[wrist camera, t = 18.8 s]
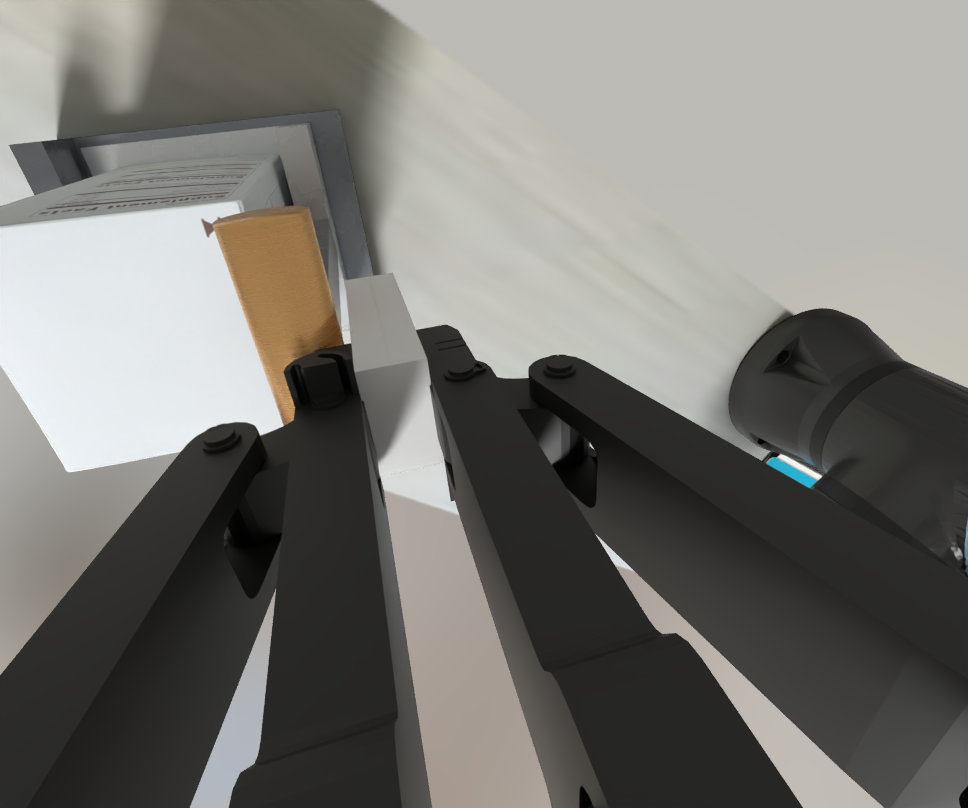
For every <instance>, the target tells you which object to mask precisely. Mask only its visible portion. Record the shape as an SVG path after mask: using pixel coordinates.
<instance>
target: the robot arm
mask: <svg viewBox="0 0 968 808" xmlns="http://www.w3.org/2000/svg"><path fill="white" fill-rule="evenodd" d="M345 287H346V297H347V306H348V316H349V326H350V335H351V344H345V345H340V346H334V347H329V348H323V349H318V350H316V351H315V352H314V353H312V354H309V355H305V356H303V357H301V358H298V359H296V360H294V361H293V362H291V363H290V364H289V365H287V366H286V368H285V370H284V371H283V373H284V376H285V379H286V382H287V385H288V388H289V391H290V394H291V397H292V400H293V403H294V406H295V412H294V420H293V421H291V422H290V423H288V424H286V425H285V426H283V427H280V428H278V429H276V430H274V431H271V432H268V433H266V434H263V435H260V434H259V432H258V430H257V428H256V426H255V425H252V424H250V423H247V422H233V423H227V424H226V423H224V424H220V425H216V427H215V426H213V427H211V428H209V429H207V430H206V431H204V432H203V433H201V434H199V435H197V436H196V437H195V438H193V439H192V440H191V441H190V442H189V443H188V444H187V445H186V446H185V447H184V449H183V450H182V451H181V452H180V454H179V455H178V456H177V457H176V459H175V460H174V461H173V463H172V464H171V465H170V466H169V467H168V469H167V470H166V471H165V472H164V474H163V475H162V476H161V477H160V478H159V480H158V481H157V482H156V483H155V485H154V486H153V487H152V488H151V490H150V491H149V492H148V493H147V495H146V496H145V497H144V498H143V499H142V501H141V502H140V503H139V505H138V506H137V507H136V508H135V509H134V511H133V512H132V513H131V514H130V516H129V517H128V518H127V519H126V520H125V522H124V523H123V524H122V525H121V527H120V528H119V529H118V530H117V532H116V533H115V534H114V536H113V537H112V538H111V539H110V540H109V542H108V543H107V544H106V545H105V547H104V548H103V549H102V550H101V551H100V553H99V554H98V555H97V556H96V558H95V559H94V560H93V561H92V563H91V564H90V565H89V566H88V568H87V569H86V570H85V571H84V572H83V574H82V575H81V576H80V578H79V579H78V580H77V581H76V582H75V584H74V585H73V586H72V587H71V589H70V590H69V591H68V592H67V594H66V595H65V596H64V597H63V598H62V600H61V601H60V602H59V603H58V605H57V606H56V607H55V608H54V610H53V611H52V612H51V613H50V615H49V616H48V617H47V618H46V619H45V621H44V622H43V623H42V625H41V626H40V627H39V628H38V629H37V631H36V632H35V633H34V634H33V636H32V637H31V638H30V639H29V641H28V642H27V643H26V644H25V645H24V647H23V648H22V649H21V651H20V652H19V653H18V654H17V655H16V657H15V658H14V659H13V660H12V662H11V663H10V664H9V665H8V667H7V668H6V669H5V670H4V671H3V673H2V674H1V675H0V808H190V805H191V803H192V800H193V797H194V795H195V793H196V790H197V787H198V785H199V782H200V780H201V777H202V774H203V772H204V770H205V767H206V765H207V762H208V759H209V757H210V754H211V752H212V749H213V747H214V744H215V742H216V739H217V736H218V734H219V731H220V729H221V726H222V723H223V721H224V719H225V716H226V714H227V711H228V709H229V706H230V704H231V701H232V698H233V696H234V693H235V690H236V688H237V686H238V683H239V681H240V678H241V676H242V673H243V670H244V668H245V665H246V663H247V660H248V658H249V655H250V653H251V650H252V647H253V645H254V642H255V640H256V637H257V635H258V632H259V629H260V627H261V625H262V622H263V620H264V617H265V614H266V612H267V609H268V607H269V604H270V602H271V599H272V597H273V594H274V592H275V589H276V597H275V606H274V616H273V626H272V636H271V646H270V655H269V665H268V675H267V685H266V694H265V705H264V714H263V723H262V734H261V743H260V748H259V753H258V757H257V759H256V761H255V764H254V765H252V766H250V767H249V768H247V769H246V770H244V771H243V772H241V773H240V775H239V777H238V779H237V782H236V784H235V786H234V788H233V791H232V796H231V800H230V805H229V808H432V805H431V798H430V791H429V785H428V779H427V772H426V765H425V759H424V752H423V746H422V739H421V733H420V726H419V719H418V713H417V706H416V699H415V693H414V687H413V680H412V673H411V667H410V660H409V653H408V647H407V640H406V634H405V627H404V621H403V614H402V608H401V602H400V594H399V588H398V581H397V575H396V568H395V562H394V555H393V548H392V542H391V535H390V529H389V522H388V516H387V509H386V502H385V497H384V490H383V486H382V482H381V477H385V476H389V475H394V474H398V473H402V472H407V471H411V470H415V469H420V468H424V467H428V466H432V465H437V464H441V463H444V461H445V467H446V473H447V480H448V486H449V492H450V498H451V501H454V500H455V502H456V505H457V509H458V512H459V515H460V518H461V521H462V524H463V527H464V530H465V533H466V536H467V539H468V543H469V546H470V549H471V552H472V555H473V558H474V561H475V564H476V567H477V571H478V573H479V576H480V580H481V583H482V586H483V589H484V592H485V595H486V598H487V602H488V605H489V608H490V611H491V614H492V617H493V620H494V623H495V626H496V629H497V632H498V635H499V639H500V642H501V645H502V648H503V651H504V654H505V657H506V660H507V664H508V667H509V670H510V673H511V676H512V679H513V682H514V685H515V688H516V692H517V694H518V698H519V701H520V704H521V707H522V710H523V713H524V716H525V719H526V722H527V726H528V729H529V732H530V735H531V738H532V741H533V744H534V747H535V750H536V754H537V756H538V760H539V763H540V766H541V769H542V772H543V775H544V779H545V782H546V785H547V789H548V793H549V797H550V801H551V806H552V808H803V807H802V806H801V804H800V803H799V801H798V800H797V798H796V797H795V795H794V794H793V792H792V791H791V789H790V788H789V786H788V785H787V783H786V782H785V780H784V779H783V778H782V776H781V775H780V773H779V772H778V770H777V769H776V767H775V766H774V764H773V763H772V761H771V760H770V758H769V757H768V756H767V754H766V753H765V751H764V750H763V748H762V747H761V745H760V744H759V742H758V741H757V739H756V738H755V736H754V735H753V733H752V732H751V730H750V729H749V727H748V726H747V725H746V723H745V722H744V720H743V719H742V717H741V716H740V714H739V713H738V711H737V710H736V708H735V707H734V705H733V704H732V702H731V701H730V699H729V698H728V696H727V695H726V694H725V692H724V691H723V689H722V688H721V686H720V685H719V683H718V682H717V680H716V679H715V677H714V676H713V675H712V673H711V671H710V670H709V669H708V667H707V666H706V664H705V663H704V661H703V660H702V658H701V657H700V656H699V655H698V653H697V652H696V651H695V650H694V648H693V647H692V646H691V645H690V644H689V642H688V641H686V640H685V639H683V638H682V637H681V636H679V635H678V634H676V633H674V634H661V633H660V632H659V631H657V630H656V629H655V627H654V626H653V625H652V624H651V622H650V621H649V619H648V618H647V616H646V615H645V613H644V611H643V610H642V608H641V607H640V605H639V603H638V602H637V600H636V599H635V597H634V595H633V594H632V592H631V591H630V589H629V587H628V586H627V584H626V583H625V581H624V579H623V578H622V576H621V575H620V573H619V571H618V570H617V568H616V567H615V565H614V563H613V562H612V560H611V559H610V557H609V555H608V554H607V552H606V551H605V549H604V547H603V546H602V544H601V543H600V541H599V540H598V538H597V536H598V537H600V538H601V539H602V540H603V541H604V542H605V543H606V544H607V545H608V546H609V547H610V548H611V549H612V550H613V551H614V552H615V553H616V554H617V555H618V556H619V557H620V558H621V559H622V560H624V561H625V562H626V563H627V564H628V565H629V566H630V567H631V568H632V569H633V570H634V571H635V572H636V573H637V574H638V575H639V576H640V577H642V579H643V580H644V581H645V582H647V583H648V584H649V585H650V586H651V587H652V588H653V589H654V590H655V591H656V592H657V593H658V594H659V595H660V596H661V597H662V598H663V599H664V600H665V601H666V602H668V604H670V605H671V606H672V607H673V608H674V609H675V610H676V611H677V612H678V613H679V614H680V615H681V616H682V617H683V618H684V619H685V620H686V621H687V622H688V623H689V624H690V625H691V626H693V628H695V629H696V630H697V631H698V632H699V633H700V634H701V635H702V636H703V637H704V638H705V639H706V640H707V641H708V642H709V643H710V644H711V645H712V646H713V647H714V648H716V650H717V651H719V652H720V653H721V654H722V655H723V656H724V657H725V658H726V659H727V660H728V661H729V662H730V663H731V664H732V665H733V666H734V667H735V668H736V669H737V670H739V672H740V673H742V674H743V675H744V676H745V677H746V678H747V679H748V680H749V681H750V682H751V683H752V684H753V685H754V686H755V687H756V688H757V689H758V690H759V691H760V692H761V693H762V694H764V696H766V697H767V698H768V699H769V700H770V701H771V702H772V703H773V704H774V705H775V706H776V707H777V708H778V709H779V710H780V711H781V712H782V713H783V714H784V715H785V716H786V717H787V718H788V719H790V720H791V721H792V722H793V723H794V724H795V725H796V726H797V727H798V728H799V729H800V730H801V731H802V732H803V733H804V734H805V735H806V736H807V737H808V738H809V739H810V740H811V741H812V742H814V743H815V744H816V745H817V746H818V747H819V748H820V749H821V750H822V751H823V752H824V753H825V754H826V755H827V756H828V757H829V758H830V759H831V760H832V761H833V762H834V763H835V764H837V765H838V766H839V767H840V768H841V769H842V770H843V771H844V772H845V773H846V774H847V775H848V776H849V777H851V778H852V779H853V780H854V781H855V782H856V783H857V784H858V785H860V786H861V787H862V788H863V789H864V790H865V791H866V792H867V793H868V794H870V795H871V796H872V797H873V798H874V799H875V800H877V802H879V803H880V804H881V805H882V806H883V807H884V808H968V388H967V387H964V386H962V385H959V384H957V383H955V382H952V381H950V380H948V379H945V378H943V377H941V376H938V375H936V374H934V373H931V372H929V371H927V370H924V369H922V368H919V367H917V366H915V365H913V364H910V363H908V362H906V361H904V360H903V359H902V358H901V357H900V356H899V355H897V354H896V353H895V352H894V351H893V350H892V349H891V348H890V347H889V346H888V345H887V344H886V343H885V342H884V341H883V340H881V339H880V338H879V337H878V336H877V335H876V334H875V333H873V332H872V330H871V329H870V328H869V327H868V326H867V325H866V324H865V323H863V322H862V321H860V320H858V319H857V318H854V317H852V316H850V315H847V314H845V313H842V312H839V311H836V310H833V309H813V310H808V311H805V312H802V313H799V314H797V315H794V316H792V317H790V318H788V319H787V320H785V321H783V322H782V323H780V324H779V325H777V326H776V327H774V328H773V329H772V330H770V331H769V332H768V333H767V334H766V335H765V336H764V337H763V338H762V339H761V340H760V341H759V342H758V343H757V344H756V345H755V346H754V347H753V348H752V350H751V351H750V352H749V353H748V355H747V356H746V358H745V359H744V361H743V362H742V364H741V366H740V367H739V369H738V371H737V373H736V376H735V378H734V381H733V383H732V387H731V391H730V396H729V413H730V417H731V420H732V423H733V424H734V426H735V428H736V429H737V430H738V431H739V432H740V433H741V434H743V435H744V436H745V437H746V438H748V439H749V440H750V441H752V442H753V443H754V444H756V445H757V446H759V447H761V448H764V449H766V450H770V451H773V452H775V453H778V454H782V455H785V456H788V457H791V458H794V459H797V460H800V461H803V462H806V463H809V464H812V465H814V466H815V467H817V468H818V469H819V470H821V471H822V472H823V473H825V474H824V475H823V476H822V477H821V478H820V479H819V480H818V481H817V482H816V483H815V484H814V485H813V486H811V487H810V488H808V487H807V486H805V485H803V484H801V483H800V482H798V481H796V480H794V479H792V478H791V477H789V476H787V475H785V474H784V473H782V472H780V471H778V470H777V469H775V468H773V467H771V466H770V465H768V464H766V463H764V462H763V461H761V460H759V459H757V458H755V457H754V456H752V455H750V454H748V453H747V452H745V451H743V450H741V449H740V448H738V447H736V446H734V445H733V444H731V443H729V442H727V441H725V440H724V439H722V438H720V437H718V436H717V435H715V434H713V433H711V432H710V431H708V430H706V429H704V428H703V427H701V426H699V425H697V424H695V423H694V422H692V421H690V420H688V419H687V418H685V417H683V416H681V415H680V414H678V413H676V412H674V411H673V410H671V409H669V408H667V407H666V406H664V405H662V404H660V403H658V402H657V401H655V400H653V399H651V398H650V397H648V396H646V395H644V394H643V393H641V392H639V391H637V390H636V389H634V388H632V387H630V386H628V385H627V384H625V383H623V382H621V381H620V380H618V379H616V378H614V377H613V376H611V375H609V374H607V373H606V372H604V371H602V370H600V369H599V368H597V367H595V366H593V365H591V364H590V363H588V362H586V361H584V360H582V359H579V358H576V357H571V356H566V355H559V356H557V355H552V356H549V357H546V358H542V359H539V360H537V361H535V362H533V364H532V365H531V366H530V367H529V378H521V379H505V378H498V377H496V375H495V374H494V372H493V370H492V369H491V367H489V366H488V365H487V364H486V363H483V362H480V361H477V360H475V358H474V356H473V355H472V353H471V351H470V350H469V348H468V346H467V345H466V343H465V341H464V339H463V338H462V336H461V334H460V333H459V331H458V330H457V329H455V328H453V327H451V326H449V325H441V326H436V327H430V328H425V329H419V330H415V327H414V325H413V322H412V320H411V317H410V315H409V312H408V310H407V307H406V305H405V302H404V300H403V297H402V295H401V292H400V290H399V287H398V285H397V282H396V280H395V277H394V275H393V273H388V274H381V275H375V276H369V277H363V278H357V279H350V280H345ZM589 442H590V443H591V444H592V446H593V448H594V449H595V450H594V449H592V448H591V447H590V446H589ZM442 453H443V455H442ZM443 456H444V461H443ZM595 534H596V535H597V536H596V535H595Z"/></svg>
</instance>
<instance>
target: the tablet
mask: <svg viewBox="0 0 968 808" xmlns="http://www.w3.org/2000/svg"><path fill="white" fill-rule="evenodd" d="M771 456H772V454H771V455H770V456H769V457H768V458H767V459H766V460H765V461H764V463H766V464H768V465H770V466H771V467H773V468H775V469H777V470H778V471H780V472H782V473H784V474H785V475H787V476H789V477H791V478H792V479H794V480H796V481H798V482H800V483H801V484H803V485H805V486H807V487H808V488H810V487H811V486H813V485H814V484H815V483H816V482H817V481H818V480H819V479H820V478H821V477H822V476H823V474H822V473H819V472H818V471H816V470H814V469H812V468H811V467H810V468H809V467H808V466H806V465H805V464H803V463H801V462H799V460H798V461H797V460H796V459H794V458H791V457H788V456H785V455H782V454H780V455H779V456H778V457H777V458H775V457H771ZM770 457H771V458H770ZM786 463H787V464H786ZM816 469H817V468H816ZM820 471H821V470H820Z"/></svg>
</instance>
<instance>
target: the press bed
mask: <svg viewBox="0 0 968 808" xmlns="http://www.w3.org/2000/svg"><path fill="white" fill-rule="evenodd" d="M303 123H310V126H311V130H312V134H313V139H314V143H315V147H316V151H317V156H318V160H319V164H320V168H321V172H322V177H323V181H324V185H325V189H326V194H327V198H328V202H329V206H330V211H331V215H332V219H333V223H334V228H335V232H336V236H337V240H338V245H339V249H340V253H341V257H342V261H343V266H344V270H345V274H346V278H347V280H350V279H357V278H363V277H369V276H373V271H372V266H371V261H370V256H369V252H368V247H367V242H366V237H365V232H364V227H363V223H362V218H361V213H360V208H359V203H358V199H357V194H356V189H355V184H354V179H353V174H352V170H351V165H350V160H349V155H348V150H347V146H346V141H345V136H344V131H343V126H342V121H341V117H340V112H339V110H330V111H321V112H312V113H302V114H293V115H284V116H274V117H265V118H256V119H247V120H237V121H228V122H219V123H209V124H200V125H191V126H182V127H172V128H163V129H154V130H144V131H135V132H126V133H117V134H107V135H98V136H89V137H79V138H70V139H60V140H51V141H41V142H32V143H23V144H13V145H9V146H10V148H11V150H12V152H13V154H14V156H15V158H16V160H17V162H18V164H19V166H20V168H21V169H22V171H23V173H24V175H25V177H26V179H27V181H28V183H29V185H30V187H31V189H32V191H33V193H34V195H37V194H40V193H44V192H47V191H50V190H53V189H56V188H59V187H62V186H65V185H69V184H72V183H75V182H78V181H81V180H84V179H87V178H90V177H93V176H96V175H100V174H103V173H106V172H109V171H112V170H114V169H118V168H123V167H129V166H135V165H144V164H153V163H163V162H173V161H183V160H196V159H207V158H219V157H232V156H247V155H266V154H277V155H279V156H280V158H281V155H280V151H279V148H278V144H277V140H276V137H275V133H274V129H273V128H276V127H279V126H285V125H294V124H303ZM281 160H282V159H281ZM282 164H283V163H282ZM283 167H284V166H283ZM284 171H285V170H284ZM285 175H286V174H285ZM286 179H287V177H286ZM287 183H288V181H287ZM288 187H289V185H288ZM289 191H290V188H289ZM290 195H291V192H290ZM291 199H292V196H291ZM292 203H293V200H292ZM293 206H294V203H293Z"/></svg>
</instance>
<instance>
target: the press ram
mask: <svg viewBox="0 0 968 808" xmlns="http://www.w3.org/2000/svg"><path fill="white" fill-rule="evenodd" d="M273 129H274V133H275V137H276V140H277V144H278V148H279V151H280V155H281V159H282V163H283V166H284V170H285V174H286V177H287V181H288V185H289V188H290V192H291V196H292V200H293V203H294V206H283V207H273V208H265V209H259V210H253V211H248V212H243V213H238V214H234V215H230V216H227V217H224V218H221V219H218V220H216V221H214V222H213V223H212V226H213V228H214V231H215V234H216V237H217V240H218V242H219V245H220V248H221V251H222V254H223V257H224V259H225V262H226V265H227V268H228V271H229V273H230V276H231V279H232V282H233V285H234V288H235V290H236V293H237V296H238V299H239V302H240V304H241V307H242V310H243V313H244V316H245V318H246V321H247V324H248V327H249V330H250V333H251V335H252V338H253V341H254V344H255V347H256V349H257V352H258V355H259V358H260V361H261V364H262V366H263V369H264V372H265V375H266V378H267V380H268V383H269V386H270V389H271V392H272V395H273V397H274V400H275V403H276V406H277V409H278V411H279V414H280V417H281V420H282V423H283V426H285V425H286V424H288V423H290V422H291V421H293V420H294V412H295V406H294V403H293V400H292V397H291V394H290V391H289V388H288V385H287V382H286V379H285V376H284V373H283V371H284V370H285V368H286V366H287V365H289V364H290V363H291V362H293V361H294V360H296V359H298V358H301V357H303V356H305V355H309V354H312V353H314V352H315V351H316V350H318V349H323V348H329V347H334V346H340V345H344V342H343V338H342V332H343V331H349V330H350V326H349V316H348V306H347V297H346V287H345V280H347V278H346V274H345V270H344V266H343V261H342V257H341V253H340V249H339V245H338V240H337V236H336V232H335V228H334V223H333V219H332V215H331V211H330V206H329V202H328V198H327V194H326V189H325V185H324V181H323V177H322V172H321V168H320V164H319V160H318V156H317V151H316V147H315V143H314V139H313V134H312V130H311V126H310V123H303V124H294V125H285V126H279V127H276V128H273Z"/></svg>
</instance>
